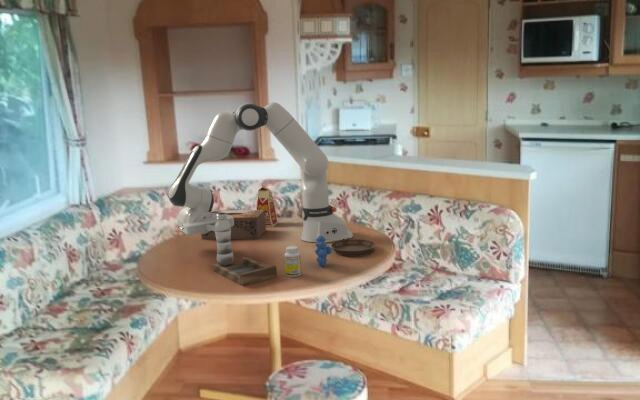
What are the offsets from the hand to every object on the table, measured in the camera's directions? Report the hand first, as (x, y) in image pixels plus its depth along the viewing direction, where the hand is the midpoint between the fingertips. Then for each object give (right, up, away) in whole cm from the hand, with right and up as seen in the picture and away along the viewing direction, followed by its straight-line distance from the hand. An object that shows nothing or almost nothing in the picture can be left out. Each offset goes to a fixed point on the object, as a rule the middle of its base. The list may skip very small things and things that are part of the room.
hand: (217, 228), depth 240 cm
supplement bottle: (+30, -16, -17) cm, 38 cm away
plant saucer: (+53, -10, +9) cm, 54 cm away
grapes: (+41, -14, -8) cm, 44 cm away
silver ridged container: (+3, -14, -1) cm, 14 cm away
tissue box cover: (+1, -5, +43) cm, 43 cm away
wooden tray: (+12, -16, -13) cm, 24 cm away
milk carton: (+14, -1, +59) cm, 60 cm away
